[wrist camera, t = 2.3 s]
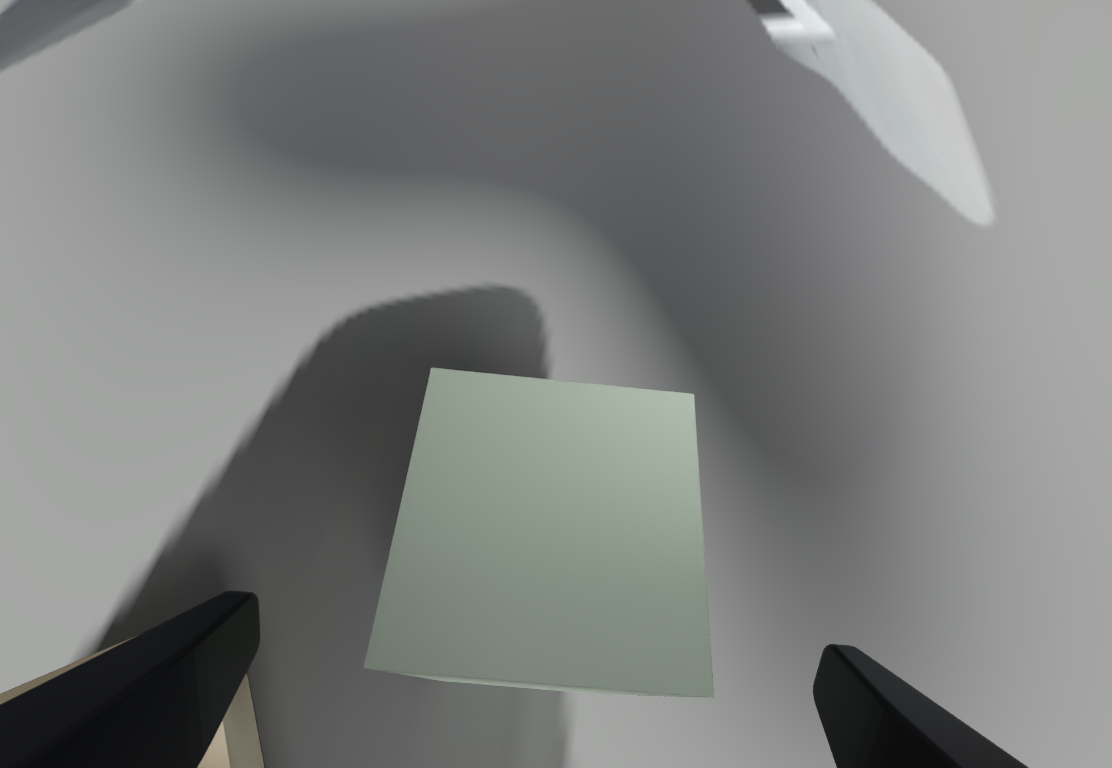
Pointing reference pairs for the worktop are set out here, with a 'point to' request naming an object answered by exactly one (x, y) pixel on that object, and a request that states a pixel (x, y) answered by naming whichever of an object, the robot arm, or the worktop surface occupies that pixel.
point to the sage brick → (549, 541)
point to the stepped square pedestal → (236, 743)
